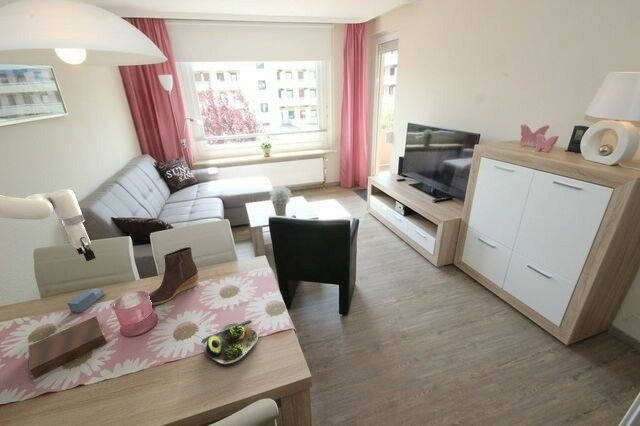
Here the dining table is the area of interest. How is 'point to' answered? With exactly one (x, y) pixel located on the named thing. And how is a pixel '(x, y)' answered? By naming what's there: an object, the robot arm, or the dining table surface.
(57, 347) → the brown wooden block
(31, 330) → the dining table surface
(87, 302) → the stepped blue block
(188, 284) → the boot
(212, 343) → the salad plate
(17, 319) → the dining table surface
